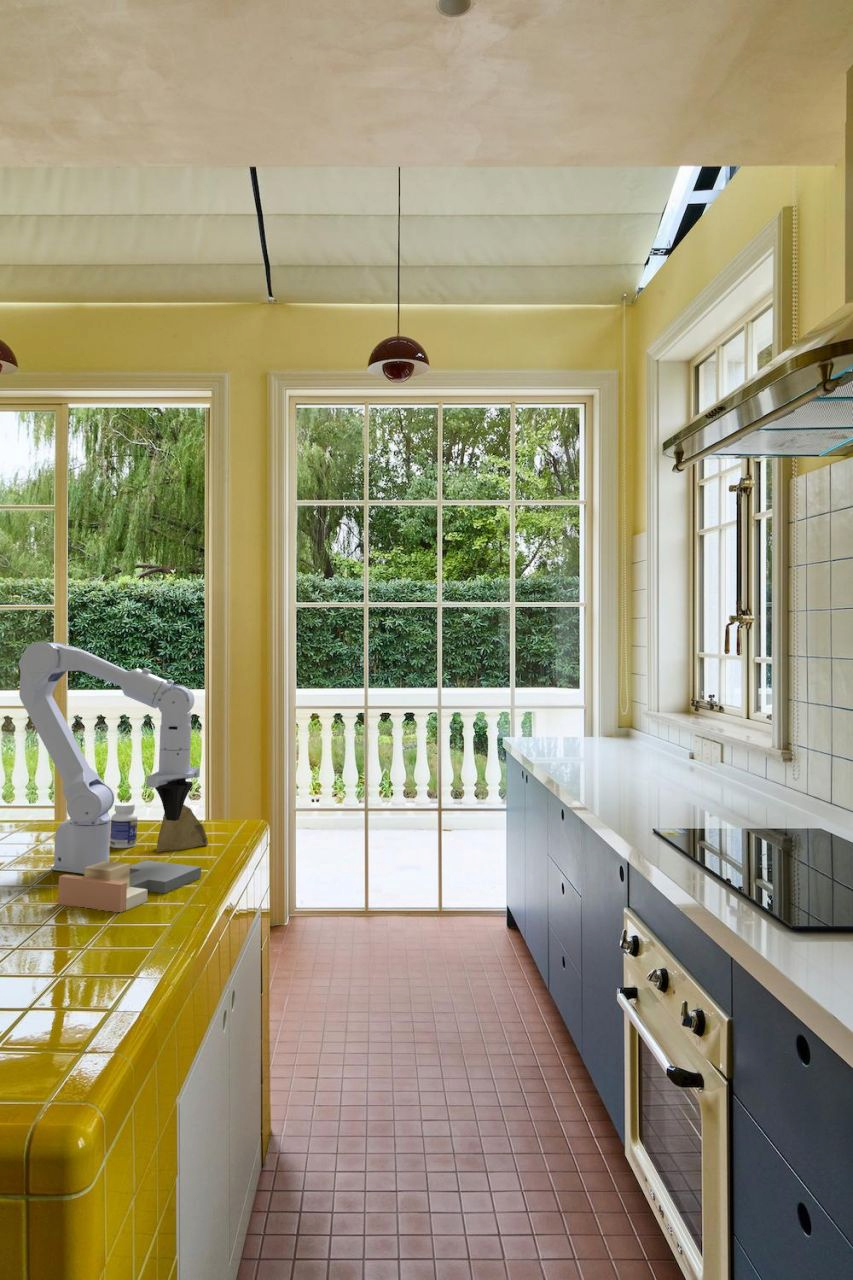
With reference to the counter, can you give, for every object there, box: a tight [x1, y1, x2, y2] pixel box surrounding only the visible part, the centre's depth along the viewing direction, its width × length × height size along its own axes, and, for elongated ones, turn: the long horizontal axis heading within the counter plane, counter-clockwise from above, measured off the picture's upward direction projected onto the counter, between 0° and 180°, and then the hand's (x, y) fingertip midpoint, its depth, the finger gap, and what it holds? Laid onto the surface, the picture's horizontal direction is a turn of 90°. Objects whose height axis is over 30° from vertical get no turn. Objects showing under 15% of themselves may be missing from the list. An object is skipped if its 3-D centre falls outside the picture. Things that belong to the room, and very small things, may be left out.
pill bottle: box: [110, 802, 138, 849], centre depth 179 cm, size 5×5×9 cm
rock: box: [156, 804, 209, 853], centre depth 178 cm, size 11×9×10 cm
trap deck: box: [57, 859, 202, 913], centre depth 146 cm, size 12×23×4 cm, turn 162°
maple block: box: [83, 860, 131, 889], centre depth 139 cm, size 5×5×4 cm
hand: (172, 819), depth 161 cm, fingers closed
